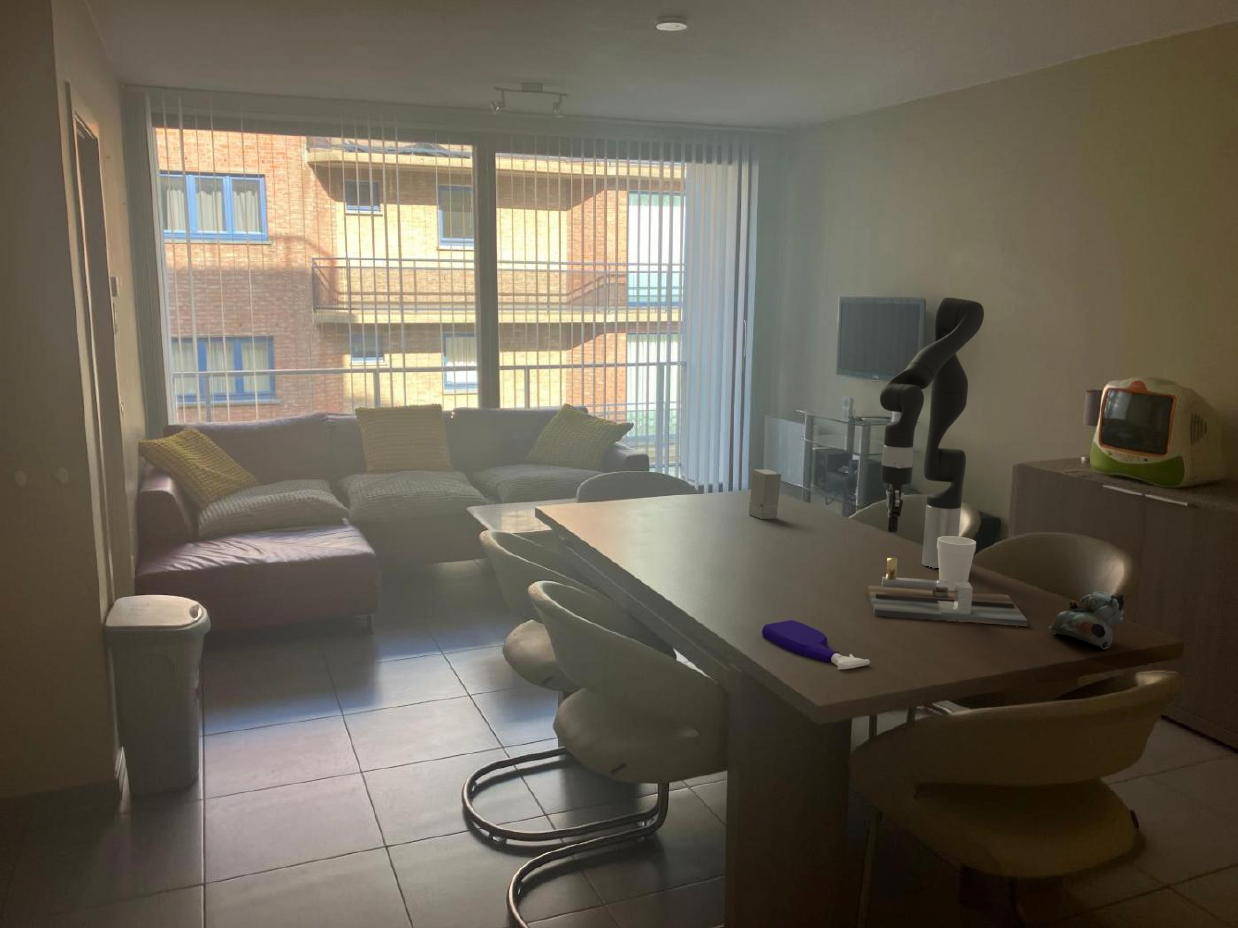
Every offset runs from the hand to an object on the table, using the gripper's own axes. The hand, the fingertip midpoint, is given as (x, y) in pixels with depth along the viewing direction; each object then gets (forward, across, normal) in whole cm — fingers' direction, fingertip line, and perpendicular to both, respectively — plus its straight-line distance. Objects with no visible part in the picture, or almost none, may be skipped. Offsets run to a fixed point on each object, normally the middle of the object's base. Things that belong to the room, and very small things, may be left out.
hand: (892, 531), depth 251 cm
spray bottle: (+17, +49, -20) cm, 56 cm away
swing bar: (+13, +6, +6) cm, 15 cm away
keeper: (+14, +18, +13) cm, 26 cm away
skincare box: (+15, -82, -33) cm, 90 cm away
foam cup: (+16, -6, +17) cm, 24 cm away
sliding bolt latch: (+16, +12, +12) cm, 23 cm away
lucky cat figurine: (+16, +30, +39) cm, 51 cm away
